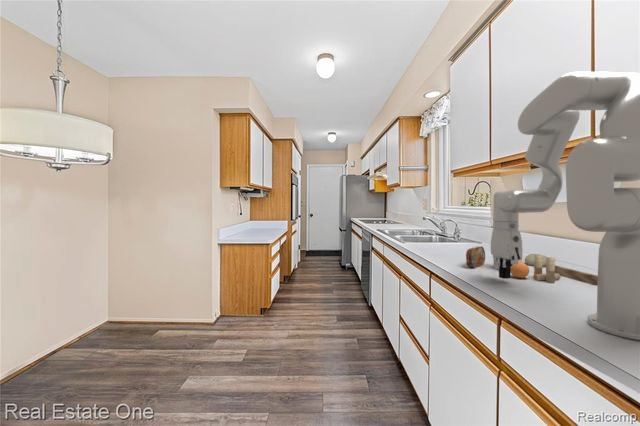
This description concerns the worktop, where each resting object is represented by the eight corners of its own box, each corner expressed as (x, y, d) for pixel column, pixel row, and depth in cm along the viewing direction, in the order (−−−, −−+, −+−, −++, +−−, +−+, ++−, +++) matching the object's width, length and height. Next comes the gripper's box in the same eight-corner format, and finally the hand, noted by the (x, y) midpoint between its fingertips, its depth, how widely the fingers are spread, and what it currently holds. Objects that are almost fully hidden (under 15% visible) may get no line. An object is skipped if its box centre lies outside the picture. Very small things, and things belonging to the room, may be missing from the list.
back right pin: (556, 282, 101) (556, 258, 101) (550, 283, 101) (550, 258, 101) (550, 281, 104) (550, 257, 103) (544, 281, 104) (544, 257, 103)
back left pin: (543, 279, 106) (544, 255, 106) (537, 279, 106) (538, 256, 106) (538, 277, 109) (538, 254, 108) (532, 277, 108) (532, 254, 108)
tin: (472, 269, 122) (472, 249, 122) (464, 268, 125) (464, 248, 124) (485, 264, 132) (486, 245, 132) (478, 263, 134) (478, 244, 134)
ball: (519, 255, 109) (519, 264, 105) (533, 266, 108) (534, 275, 104) (506, 264, 113) (505, 272, 108) (519, 274, 112) (519, 284, 108)
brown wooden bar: (606, 286, 96) (606, 277, 96) (601, 286, 96) (602, 277, 96) (551, 271, 116) (551, 264, 116) (548, 272, 116) (548, 264, 116)
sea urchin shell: (540, 258, 134) (548, 248, 128) (548, 273, 128) (557, 263, 123) (518, 258, 135) (526, 248, 129) (525, 273, 129) (534, 263, 123)
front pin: (539, 281, 103) (560, 280, 105) (539, 274, 103) (560, 273, 105) (533, 280, 106) (554, 278, 107) (533, 273, 106) (554, 272, 107)
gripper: (533, 228, 95) (531, 283, 96) (500, 224, 110) (499, 272, 111) (511, 228, 95) (510, 284, 95) (481, 224, 109) (480, 273, 110)
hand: (504, 277), depth 103 cm, fingers closed
